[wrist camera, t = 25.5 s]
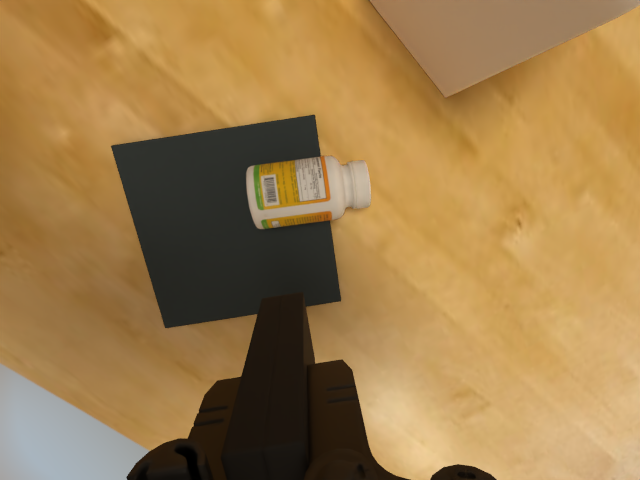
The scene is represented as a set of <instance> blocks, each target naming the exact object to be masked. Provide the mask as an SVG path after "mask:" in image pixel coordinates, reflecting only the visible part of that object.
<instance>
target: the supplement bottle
mask: <svg viewBox="0 0 640 480" xmlns="http://www.w3.org/2000/svg"><path fill="white" fill-rule="evenodd" d="M246 186H247V196H248V203H249V208H250V212H251V215H252V218H253V221H254V223H255V225H256V227H257V228H258V229H268V228H276V227H282V226H290V225H298V224H305V223H313V222H321V221H329V220H335V219H338V218H340V217H342V215H343V214H344V211H345V209H346V208H347V207H352V208H353V209H359V208H366V207H369V206H370V203H371V187H370V178H369V173H368V168H367V165H366V163H365V161H364V160H359V161H351V162H347V165H340V163H339V161H338V160H337V159H336V158H335V157H333V156H322V157H315V158H307V159H300V160H292V161H285V162H276V163H269V164H261V165H254V166H250V167H248V169H247V172H246Z"/></svg>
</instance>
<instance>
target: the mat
mask: <svg viewBox="0 0 640 480" xmlns="http://www.w3.org/2000/svg"><path fill="white" fill-rule="evenodd" d="M111 147H112V151H113V154H114V158H115V161H116V164H117V168H118V171H119V174H120V178H121V181H122V184H123V188H124V191H125V194H126V198H127V201H128V205H129V208H130V211H131V215H132V218H133V221H134V225H135V228H136V231H137V235H138V238H139V241H140V245H141V248H142V251H143V255H144V258H145V262H146V265H147V268H148V272H149V275H150V278H151V282H152V285H153V288H154V292H155V295H156V298H157V302H158V305H159V309H160V312H161V315H162V319H163V322H164V325H165V328H170V327H176V326H183V325H189V324H196V323H202V322H209V321H215V320H222V319H228V318H235V317H241V316H248V315H254V314H258V311H259V308H260V304H261V300H262V298H267V297H273V296H280V295H286V294H292V293H299V292H303V294H304V300H305V306H313V305H319V304H326V303H332V302H339V301H341V296H340V289H339V282H338V275H337V268H336V261H335V254H334V247H333V240H332V233H331V226H330V220H329V221H321V222H313V223H305V224H298V225H290V226H282V227H276V228H268V229H258V228H257V227H256V225H255V223H254V221H253V218H252V215H251V212H250V208H249V203H248V196H247V186H246V172H247V169H248V167H250V166H254V165H261V164H269V163H276V162H285V161H292V160H300V159H307V158H315V157H321V156H320V149H319V142H318V135H317V128H316V121H315V115H310V116H303V117H297V118H290V119H284V120H277V121H271V122H264V123H257V124H251V125H244V126H238V127H231V128H225V129H218V130H211V131H205V132H198V133H192V134H185V135H179V136H172V137H165V138H159V139H152V140H146V141H139V142H133V143H126V144H119V145H113V146H111Z"/></svg>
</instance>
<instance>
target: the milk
mask: <svg viewBox="0 0 640 480" xmlns="http://www.w3.org/2000/svg"><path fill="white" fill-rule="evenodd" d="M369 1H370V2H371V3H372V5H373V6H374V7H375V8H376V10H377V11H378V12H379V14H380V15H381V16H382V17H383V19H384V20H385V21H386V23H387V24H388V25H389V26H390V28H391V29H392V30H393V31H394V33H395V34H396V35H397V37H398V38H399V39H400V40H401V42H402V43H403V44H404V46H405V47H406V48H407V49H408V51H409V52H410V53H411V55H412V56H413V57H414V58H415V60H416V61H417V62H418V63H419V65H420V66H421V67H422V69H423V70H424V71H425V72H426V74H427V75H428V76H429V78H430V79H431V80H432V81H433V83H434V84H435V85H436V86H437V88H438V89H439V90H440V92H441V93H442V94H443V95H444V97H445V98H447V97H449V96H451V95H453V94H455V93H457V92H459V91H462V90H464V89H466V88H468V87H470V86H472V85H474V84H477V83H479V82H481V81H483V80H485V79H487V78H489V77H491V76H494V75H496V74H498V73H500V72H502V71H504V70H506V69H509V68H511V67H513V66H515V65H517V64H519V63H521V62H524V61H526V60H528V59H530V58H532V57H534V56H536V55H539V54H541V53H543V52H545V51H547V50H549V49H551V48H554V47H556V46H558V45H560V44H562V43H564V42H566V41H568V40H571V39H573V38H575V37H577V36H579V35H581V34H583V33H586V32H588V31H590V30H592V29H594V28H596V27H598V26H601V25H603V24H605V23H607V22H609V21H611V20H613V19H616V18H618V17H619V16H621V15H623V14H625V13H627V12H629V11H630V10H632V9H634V8H636V7H637V6H639V5H640V0H369Z"/></svg>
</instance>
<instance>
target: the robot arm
mask: <svg viewBox="0 0 640 480" xmlns="http://www.w3.org/2000/svg"><path fill="white" fill-rule="evenodd" d="M127 480H409V479H405V478H402V477H398V476H395V475H393V474H392V473H390V472H388V471H386V470H385V469H384V468H383V467H381V466H380V465H379V464H378V463H377V461H376V460H375V459H374V457H373V456H372V454H371V451H370V448H369V445H368V440H367V435H366V431H365V426H364V422H363V417H362V413H361V408H360V403H359V399H358V394H357V390H356V386H355V381H354V376H353V372H352V369H351V368H350V367H349V366H348V365H347V364H346V363H345V362H344V361H343V360H336V361H330V362H323V363H317V364H315V357H314V351H313V346H312V340H311V334H310V329H309V323H308V317H307V311H306V306H305V300H304V294H303V292H299V293H292V294H286V295H280V296H273V297H267V298H262V300H261V304H260V308H259V311H258V315H257V319H256V323H255V327H254V331H253V334H252V338H251V342H250V346H249V350H248V353H247V357H246V361H245V365H244V369H243V373H242V376H241V377H237V378H231V379H224V380H218V381H216V383H215V384H214V385H213V386H212V387H211V388H210V389H209V391H208V392H207V393H206V394H205V396H204V398H203V401H202V403H201V406H200V408H199V413H198V414H197V416H196V419H195V421H194V427H192V429H191V432H190V434H189V437H188V439H176V440H173V441H169V442H166V443H163V444H162V445H160V446H158V447H157V448H155V449H153V450H151V451H150V452H148V453H147V454H146V455H145V456H144V457H143V458H142V459H141V460H139V461H138V462H137V463H136V465H135V466H134V467H133V469H132V470H131V472H130V473H129V474H128V476H127ZM430 480H496V479H495V478H494V477H493V476H492V475H491V474H489V473H486V472H484V471H482V470H480V469H478V468H476V467H472V466H466V465H459V464H458V465H453V466H448V467H443V468H442V469H441V470H439V471H438V472H436V473H435V474H434V475H432V477H431V479H430Z"/></svg>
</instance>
